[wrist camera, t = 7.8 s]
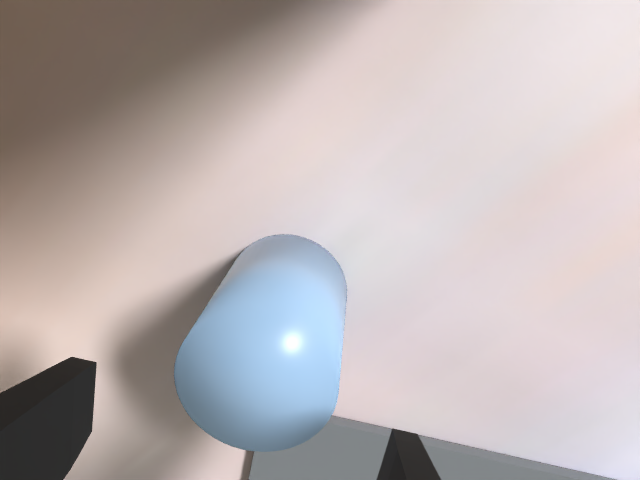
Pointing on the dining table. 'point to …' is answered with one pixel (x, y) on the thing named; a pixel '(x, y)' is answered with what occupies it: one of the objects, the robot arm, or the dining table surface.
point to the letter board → (368, 451)
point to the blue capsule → (267, 347)
